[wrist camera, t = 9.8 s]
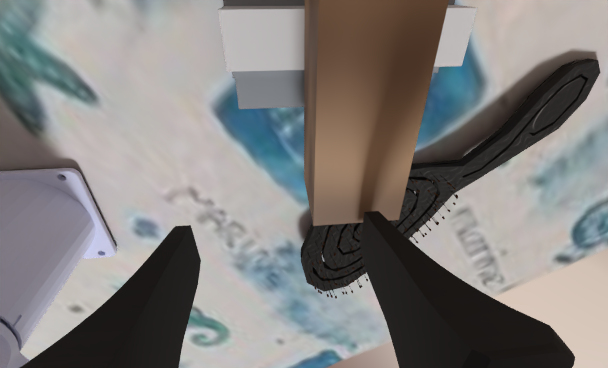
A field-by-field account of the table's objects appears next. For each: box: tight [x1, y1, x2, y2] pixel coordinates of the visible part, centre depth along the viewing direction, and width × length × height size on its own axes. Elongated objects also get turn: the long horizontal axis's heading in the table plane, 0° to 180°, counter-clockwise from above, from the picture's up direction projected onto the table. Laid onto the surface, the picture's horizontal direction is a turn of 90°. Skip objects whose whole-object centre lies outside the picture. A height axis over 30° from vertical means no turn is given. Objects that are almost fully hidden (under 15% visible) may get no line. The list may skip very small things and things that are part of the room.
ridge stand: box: [218, 0, 477, 109], centre depth 15 cm, size 11×8×4 cm
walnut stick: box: [304, 0, 449, 226], centre depth 12 cm, size 14×4×4 cm, turn 0°
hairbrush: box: [301, 59, 600, 298], centre depth 23 cm, size 8×4×25 cm
